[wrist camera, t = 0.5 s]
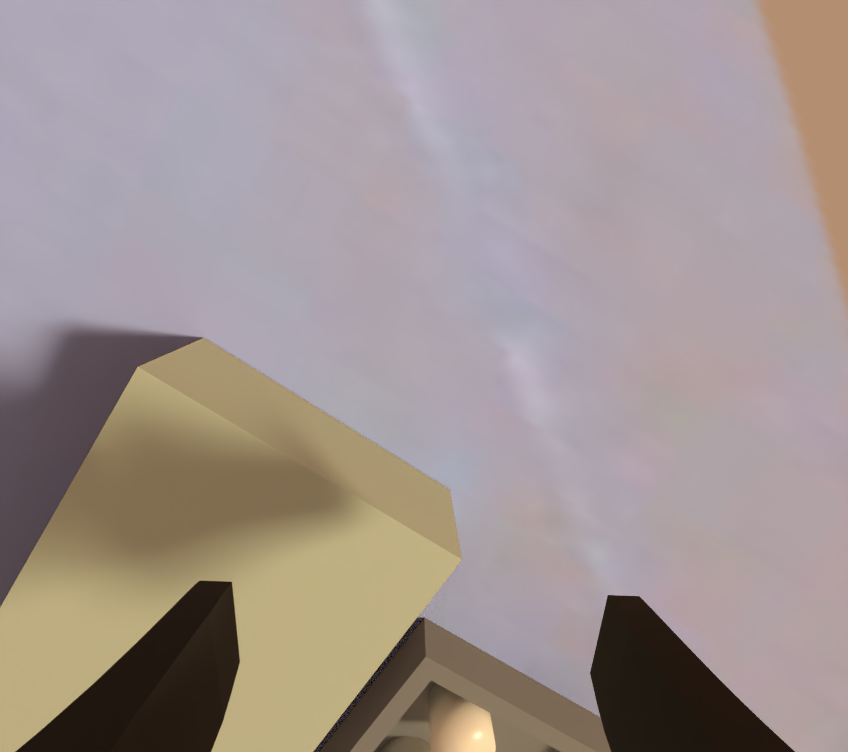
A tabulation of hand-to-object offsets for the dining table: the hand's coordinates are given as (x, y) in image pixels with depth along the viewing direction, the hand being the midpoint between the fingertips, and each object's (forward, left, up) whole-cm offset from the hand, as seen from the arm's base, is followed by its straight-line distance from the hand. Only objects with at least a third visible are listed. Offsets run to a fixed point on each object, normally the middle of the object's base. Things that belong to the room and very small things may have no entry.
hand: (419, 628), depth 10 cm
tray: (-11, -10, -11) cm, 19 cm away
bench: (-11, +3, -10) cm, 16 cm away
